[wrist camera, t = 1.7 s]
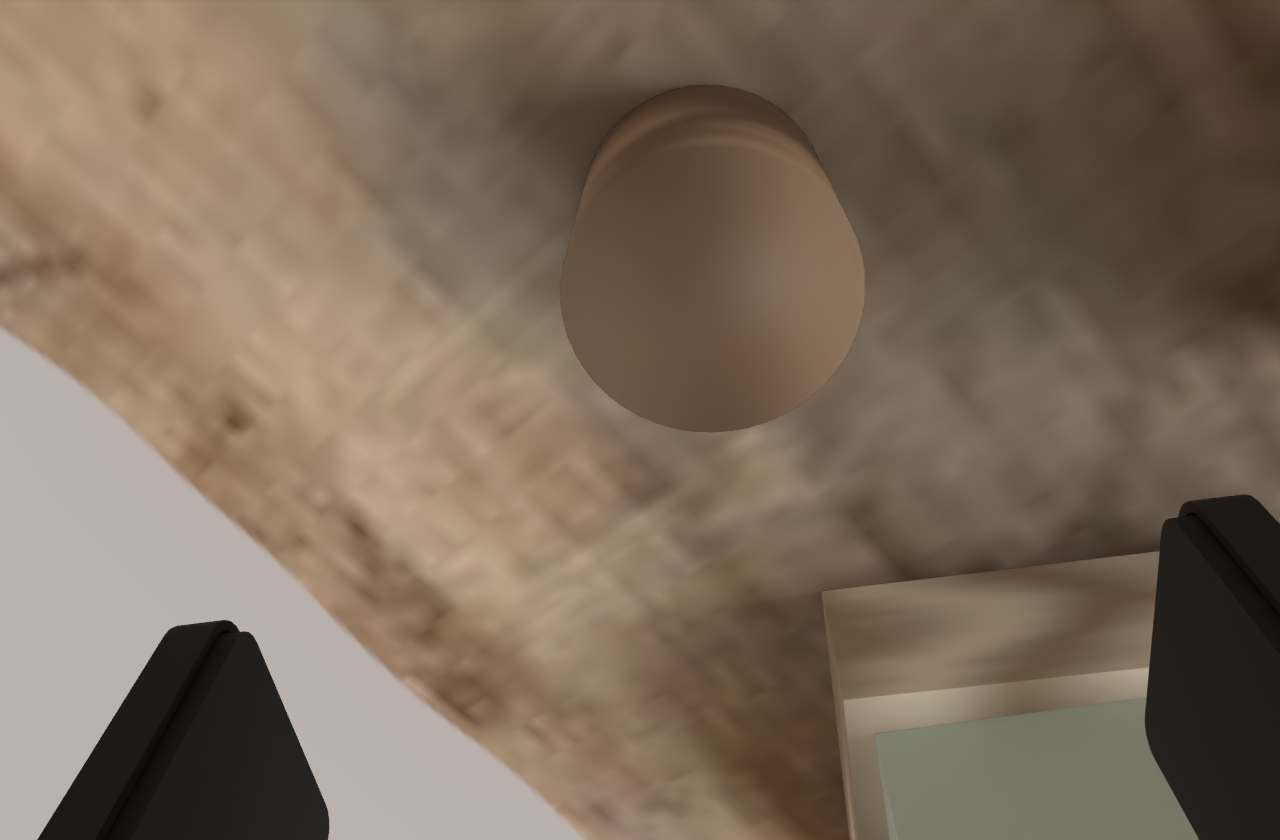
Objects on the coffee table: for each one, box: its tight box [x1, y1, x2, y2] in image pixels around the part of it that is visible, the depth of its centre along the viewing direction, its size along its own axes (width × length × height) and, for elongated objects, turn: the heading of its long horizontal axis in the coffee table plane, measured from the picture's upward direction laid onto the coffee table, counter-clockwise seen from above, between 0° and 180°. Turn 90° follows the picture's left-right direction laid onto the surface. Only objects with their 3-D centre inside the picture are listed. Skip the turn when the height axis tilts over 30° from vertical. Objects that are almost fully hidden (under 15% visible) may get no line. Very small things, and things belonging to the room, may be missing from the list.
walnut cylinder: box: [561, 85, 865, 432], centre depth 23 cm, size 6×6×6 cm
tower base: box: [822, 551, 1160, 840], centre depth 32 cm, size 12×12×5 cm
